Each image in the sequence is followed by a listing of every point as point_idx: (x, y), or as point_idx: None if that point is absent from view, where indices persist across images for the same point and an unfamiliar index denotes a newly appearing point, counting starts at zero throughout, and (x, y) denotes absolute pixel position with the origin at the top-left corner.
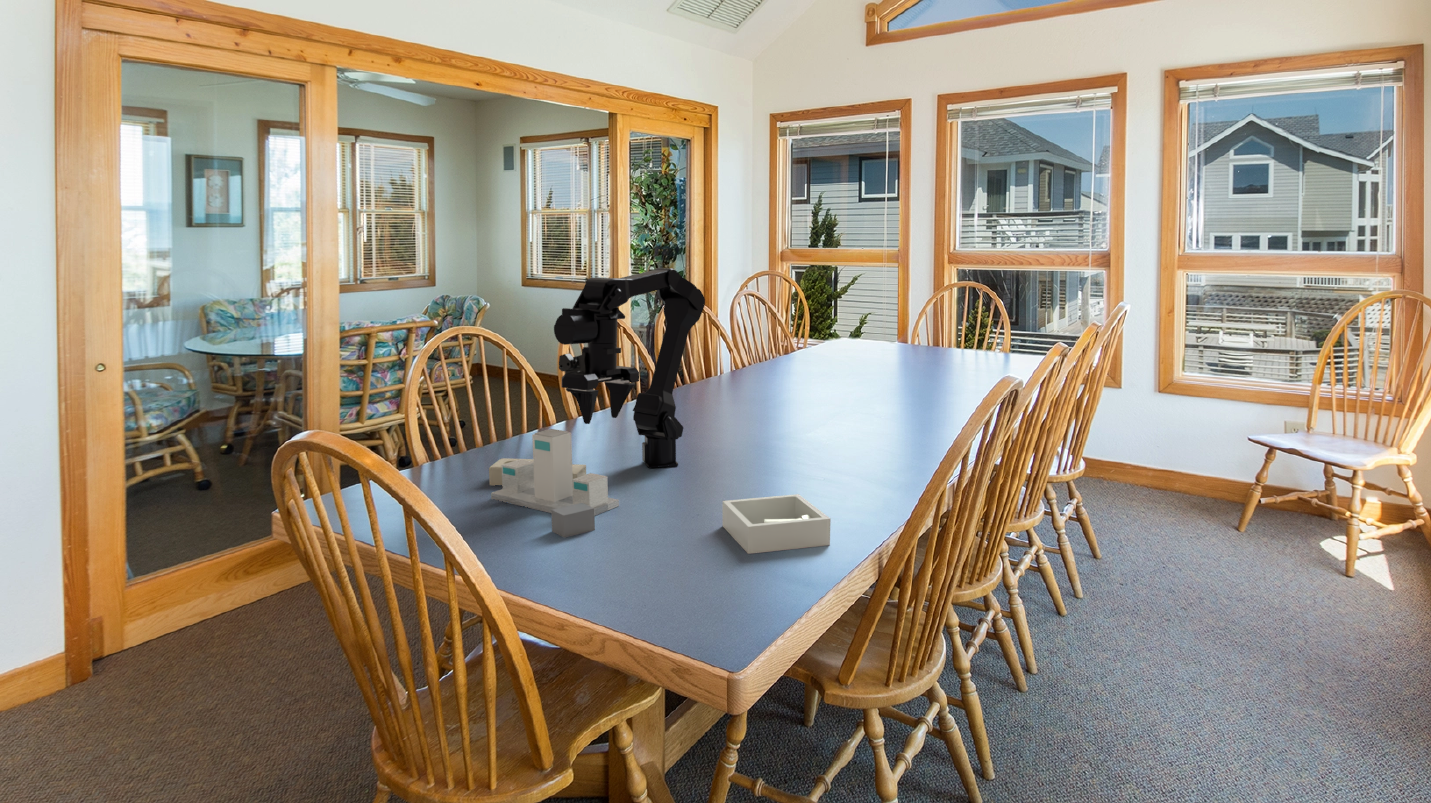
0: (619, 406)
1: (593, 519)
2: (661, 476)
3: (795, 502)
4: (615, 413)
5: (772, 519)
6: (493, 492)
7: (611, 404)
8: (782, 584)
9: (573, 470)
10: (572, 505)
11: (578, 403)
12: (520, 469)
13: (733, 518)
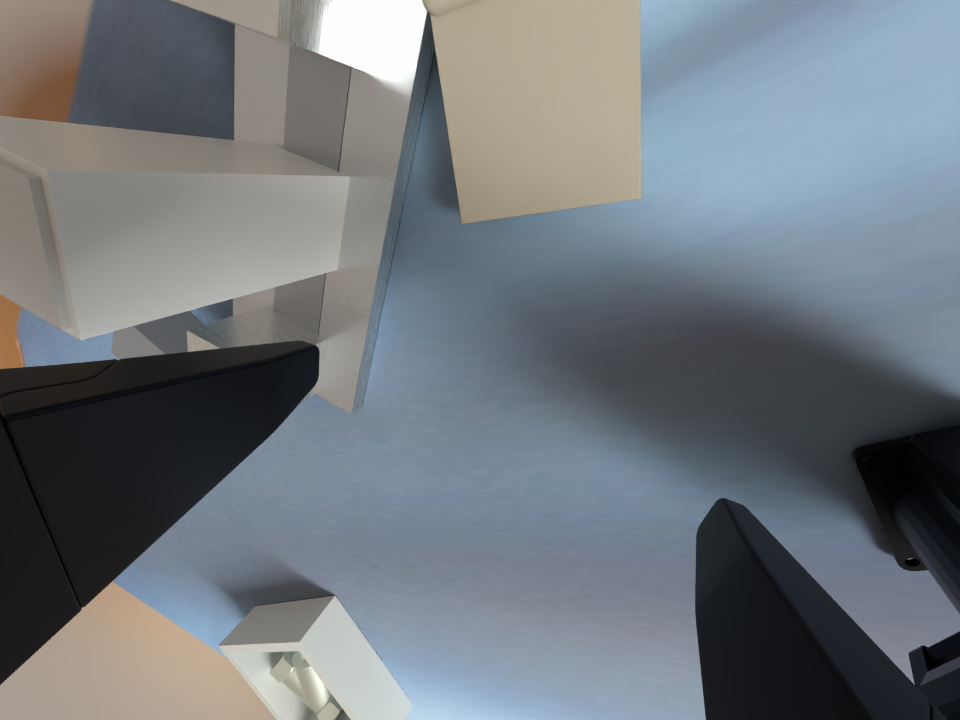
0: (705, 680)
1: None
2: (704, 497)
3: None
4: (705, 564)
5: (301, 678)
6: None
7: (779, 623)
8: (204, 618)
9: (516, 178)
10: (158, 352)
11: (47, 374)
12: (204, 12)
13: (269, 632)
